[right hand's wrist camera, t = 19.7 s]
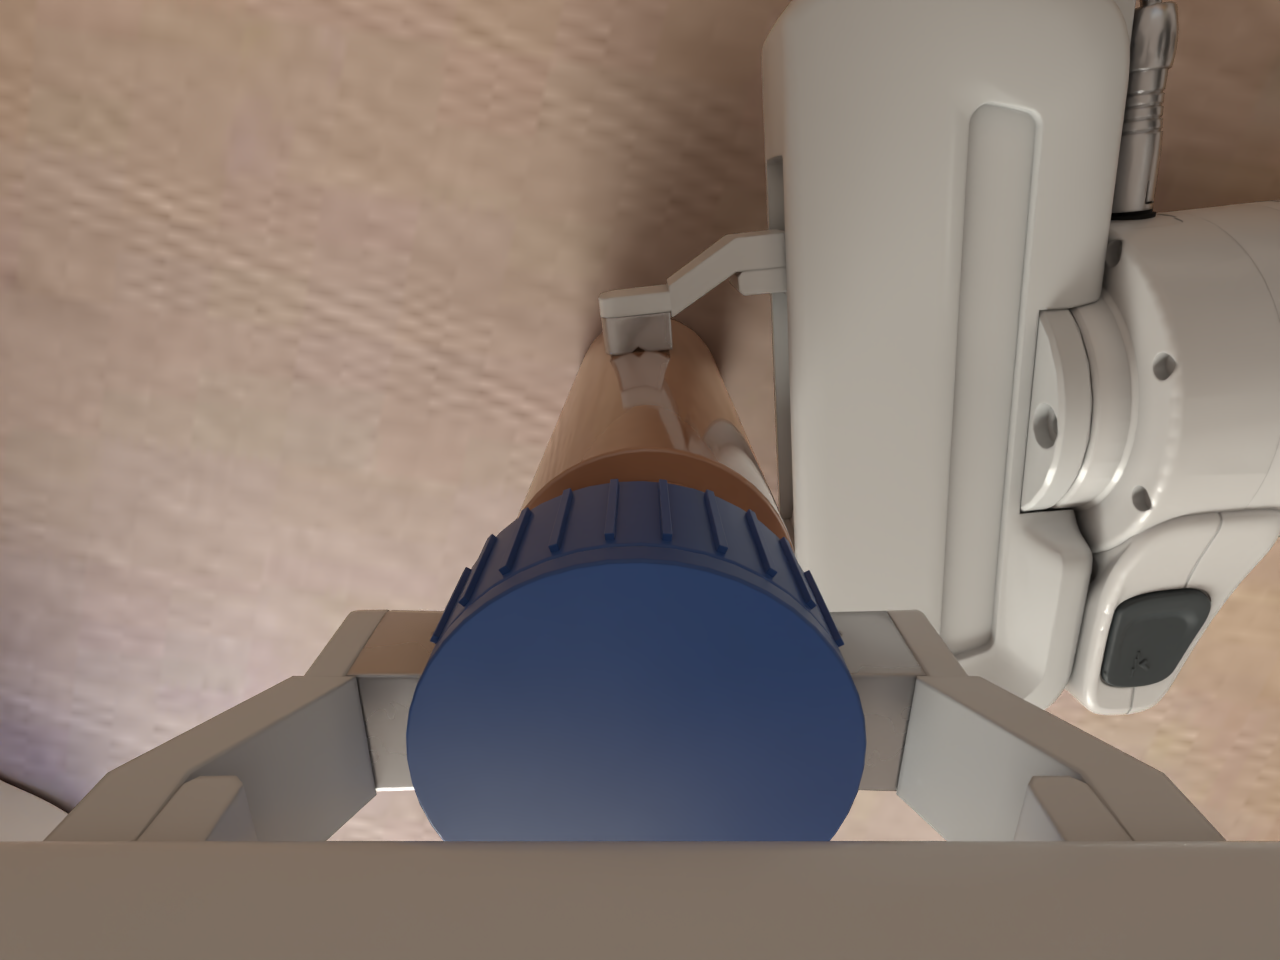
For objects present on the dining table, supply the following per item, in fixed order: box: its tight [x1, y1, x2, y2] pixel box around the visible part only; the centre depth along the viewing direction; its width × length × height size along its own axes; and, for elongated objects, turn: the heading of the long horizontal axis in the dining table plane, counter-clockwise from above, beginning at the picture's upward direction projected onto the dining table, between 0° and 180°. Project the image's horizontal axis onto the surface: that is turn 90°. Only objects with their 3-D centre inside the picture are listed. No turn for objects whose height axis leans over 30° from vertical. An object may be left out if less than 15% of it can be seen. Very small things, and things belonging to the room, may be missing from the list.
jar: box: [517, 319, 795, 555], centre depth 17 cm, size 5×5×16 cm
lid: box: [406, 479, 867, 841], centre depth 9 cm, size 6×6×2 cm
